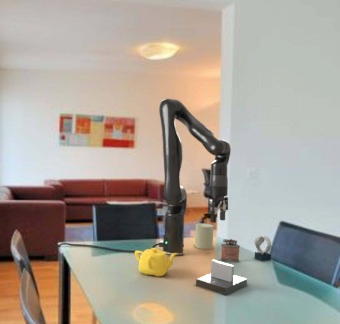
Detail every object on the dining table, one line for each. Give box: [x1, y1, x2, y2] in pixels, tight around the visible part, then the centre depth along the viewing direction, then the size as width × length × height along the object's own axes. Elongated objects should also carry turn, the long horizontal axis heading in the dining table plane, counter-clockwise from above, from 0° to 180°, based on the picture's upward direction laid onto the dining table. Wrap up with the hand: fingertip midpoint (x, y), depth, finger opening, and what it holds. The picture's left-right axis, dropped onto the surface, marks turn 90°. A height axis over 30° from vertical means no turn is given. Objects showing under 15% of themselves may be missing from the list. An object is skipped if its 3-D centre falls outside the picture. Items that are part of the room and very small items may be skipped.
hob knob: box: [210, 259, 235, 282], centre depth 145 cm, size 8×2×6 cm, turn 42°
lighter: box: [220, 238, 240, 263], centre depth 178 cm, size 8×3×10 cm, turn 84°
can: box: [194, 223, 215, 250], centre depth 202 cm, size 9×9×12 cm
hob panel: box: [195, 273, 248, 296], centre depth 145 cm, size 16×13×3 cm
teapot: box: [134, 247, 178, 278], centre depth 158 cm, size 14×13×10 cm
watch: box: [253, 235, 272, 262], centre depth 182 cm, size 6×8×11 cm
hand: (217, 221), depth 171 cm, fingers open, 8 cm apart
